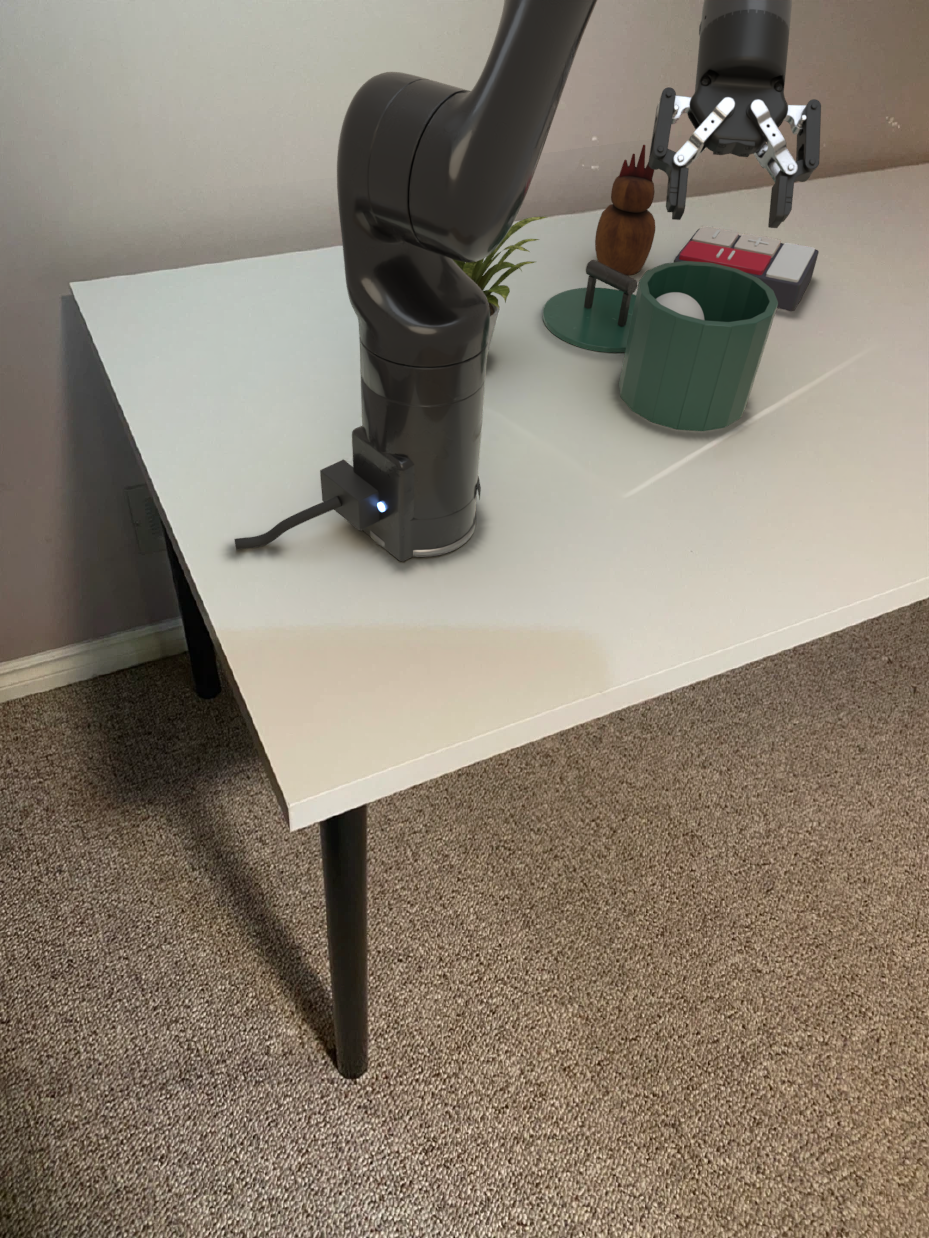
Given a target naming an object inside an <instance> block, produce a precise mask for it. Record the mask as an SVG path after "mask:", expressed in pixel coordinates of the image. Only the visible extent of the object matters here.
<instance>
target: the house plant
mask: <svg viewBox="0 0 929 1238" xmlns="http://www.w3.org/2000/svg"><path fill="white" fill-rule="evenodd" d="M545 218H547V216H532V217H528V218H524V219H522V220H520V221H517V222H515V223H513V224H512V226H511V228H510V230H509V231H508V233H507V234H506V236H505V238H504V239H503V240H502V242H501V243H500V244H499V246H498V247H497V248H496V249H495V250H494V251H493V252H492V253H491V254H490V255H488V256H487V257H485V258H483V259H481V260H479V261H476V262H469V263H468V262H462V261H457V260H454V259H453V261H454V262H455V263H456V264H457V265H458V266H459V267H460V268H461V269H462V270H463V271H464V272H465V273H466V274H467V275H468V276H469V277H470V278H471V279H472V280H473V281H474V282H475V283H476V284H477V285H478V286H479V287H480V288H481V290H482V291H483V292H484V294H485V296H486V298H487V300H488V303H489V308H490V325H489V338H488V351H487V357H488V355H489V352H490V348H491V343H492V340H493V335H494V331H495V327H496V324H497V321H498V320H497V319H498V316H499V312H500V304H499V299H498V297H497V296H496V295H494V294H497V295H500V296H501V297H502V298H503V299H504V303H505V304H506V303H507V298H508V297H509V295H510V291H511V289H510V287H509V286H508V285H505V284H502V283H503V282H504V281H505V280H506V279H507V278H508V277H509V276H510V275H511V274H513V273H514V272H516V271H517V270H520V272H523V271H522V267H524V266H526V265H531V264H534V263H536V261H532V260H531V261H530V260H529V261H521V262H519V263H516V264H514V263H512V262H509V261H506V260H507V258H509V256H511V254H512V253H513V252H515V251H516V250H519V251H523V252H529V253H531V252H530V250H529V249H527V248H525V247H523V246H524V245H525V244H527V243H529V242H537V241H540V240H541V239H539V238H526V239H522V240H520V241H518V242H516V243H515V244H511V245H508V246H507V247H504V248H503V250H501V251H500V252H498V251H499V250H500V249H501V247H502V246H503V245H504V244H505V242H507V240H509V239H510V237H512V236H513V235H514V234H516V232H518V231H519V230H521V229H522V228H524V227H525V226H527V225H528V224H530V223H531V222H536V221H540V220H543V219H545ZM503 251H506V252H505V253H504V254H503V255H502V256H501V258H500V259H499V260H498V262H497V263H496V264H494V265H493V266H491V265H492V264H493V262H494V261H495V260H496V259H497V258H498V256H500V254H501V253H502V252H503ZM497 252H498V253H497ZM490 266H491V267H490ZM489 267H490V268H489ZM505 269H507V270H506V271H505V272H503V273H502V274H501V275H500V277H499V278H498V279H496V281H495V282H493V284H492V285H491V287H490V288H489V289H486V290H485V288H486V287H487V285H488V284H489V283H490V281H491V279H492V278H493V277H494V276H495V275H496V274H497V273H499V272H500V271H502V270H505ZM492 293H494V294H492Z"/></svg>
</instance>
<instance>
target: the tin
mask: <svg viewBox="0 0 929 1238" xmlns="http://www.w3.org/2000/svg"><path fill="white" fill-rule="evenodd" d="M671 292H679V293H684V294H686V295H689V296H690V297H692V298H693V299H694V300H696V301H697V303H698V304H699V305H700V307H701V309H702V311H703V314H704V320H701V319H697V318H693V317H689V316H686V315H682V314H679V313H677V312H675V311H673V310H671V309H669V308H667V307H665V306H663V305H661V304H660V303H659V302H658V301H657V300H656V298H658V297H659V296H661V295H664V294H667V293H671ZM635 295H636V299H635V304H634V309H633V314H632V320H631V325H630V330H629V335H628V340H627V345H626V351H625V352H624V356H623V361H622V367H621V372H620V375H619V376H620V377H619V381H618V387H619V394H620V398H621V400H622V401H623V402H624V403H625V404H626V406H627V407H628V408H629V410H631V411H632V412H633V413H634V414H637V415H638V416H640V417H641V418H644V419H645V420H647V421H648V422H650V423H653V424H656V425H660V426H663V427H666V428H670V429H673V430H678V431H689V432H690V431H691V432H707V431H708V432H709V431H713V430H718V429H724V428H727V427H728V426H730V425H732V424H733V423H735V422H737V421H739V420H740V419H741V418H742V416H743V415H744V412H745V410H746V408H747V405H748V402H749V399H750V396H751V393H752V390H753V386H754V384H755V380H756V377H757V373H758V370H759V367H760V363H761V360H762V358H763V354H764V351H765V348H766V344H767V342H768V339H769V338H768V337H769V334H770V331H771V328H772V325H773V322H774V319H775V316H776V312H777V309H778V308H777V306H778V301H777V299H776V296H775V294H774V291H773V290H772V289H771V288H770V287H769V286H767V285H766V284H765V283H764V282H762V281H761V280H760V279H759V278H757V277H754V276H752V275H750V274H748V273H745V272H743V271H741V270H739V269H736V268H732V267H727V266H723V265H719V264H715V263H708V262H694V261H682V262H674V261H673V262H665V263H662V264H659V265H657V266H655V267H652V268H650V269H647V270H646V271H645V273H644V274H643V276H642V277H640V279H639V281H638V283H637V288H636V294H635Z"/></svg>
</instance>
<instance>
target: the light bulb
mask: <svg viewBox="0 0 929 1238" xmlns="http://www.w3.org/2000/svg"><path fill="white" fill-rule="evenodd" d="M656 300H657V301H658V302H659V303H660V304H661V305H663V306H665V307H667V308H669V309H671V310H673V311H675V312H677V313H679V314H682V315H686V316H689V317H693V318H697V319H701V320H704V314H703V311H702V309H701V307H700V305H699V304H698V303H697V301H696V300H694V299H693V298H692V297H690V296H689V295H686V294H684V293H679V292H671V293H667V294H664V295H661V296H659V297H658V298H656Z"/></svg>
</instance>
